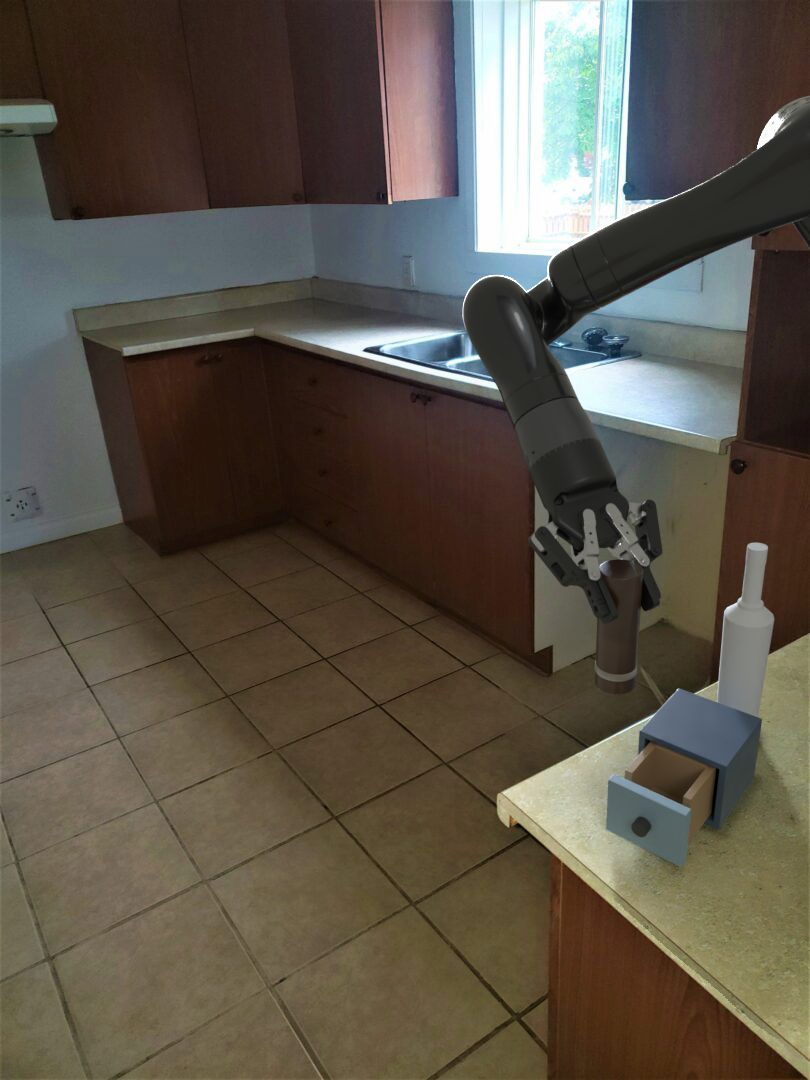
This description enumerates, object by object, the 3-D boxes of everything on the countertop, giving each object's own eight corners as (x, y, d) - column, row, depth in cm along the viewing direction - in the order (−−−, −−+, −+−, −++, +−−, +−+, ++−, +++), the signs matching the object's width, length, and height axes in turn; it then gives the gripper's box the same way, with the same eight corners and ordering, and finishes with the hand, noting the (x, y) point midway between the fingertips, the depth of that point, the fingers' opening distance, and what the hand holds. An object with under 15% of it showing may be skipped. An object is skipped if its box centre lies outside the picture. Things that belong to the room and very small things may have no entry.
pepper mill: (619, 666, 84) (626, 555, 79) (644, 687, 81) (653, 572, 75) (586, 677, 83) (590, 565, 77) (610, 699, 80) (616, 583, 74)
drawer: (675, 875, 79) (680, 823, 76) (599, 836, 84) (601, 786, 81) (716, 817, 85) (722, 767, 82) (644, 784, 90) (647, 735, 87)
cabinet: (719, 830, 84) (726, 767, 81) (635, 791, 90) (639, 730, 87) (753, 779, 91) (762, 718, 87) (673, 746, 96) (678, 687, 93)
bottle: (708, 741, 97) (729, 554, 86) (714, 716, 101) (734, 533, 90) (755, 752, 95) (782, 560, 84) (759, 725, 99) (785, 539, 88)
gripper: (513, 450, 76) (584, 622, 71) (640, 423, 80) (715, 583, 75) (488, 485, 82) (551, 644, 78) (606, 458, 87) (673, 607, 82)
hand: (631, 613), depth 76 cm, fingers closed on pepper mill, 4 cm apart
